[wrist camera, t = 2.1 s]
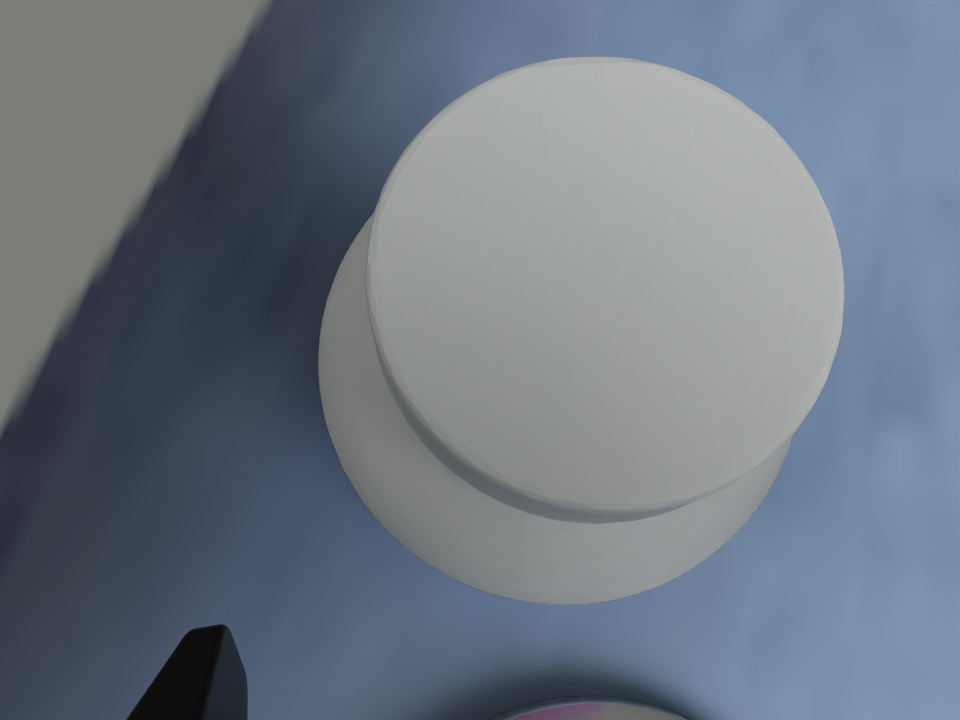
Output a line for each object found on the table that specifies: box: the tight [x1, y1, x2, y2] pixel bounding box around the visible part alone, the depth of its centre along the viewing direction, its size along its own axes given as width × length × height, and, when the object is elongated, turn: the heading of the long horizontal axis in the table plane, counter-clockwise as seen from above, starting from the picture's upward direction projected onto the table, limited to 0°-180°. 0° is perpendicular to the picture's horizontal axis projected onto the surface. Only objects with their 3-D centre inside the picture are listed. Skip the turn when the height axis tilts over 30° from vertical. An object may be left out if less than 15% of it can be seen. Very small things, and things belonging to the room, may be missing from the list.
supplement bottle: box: [318, 57, 844, 605], centre depth 14 cm, size 7×7×13 cm
